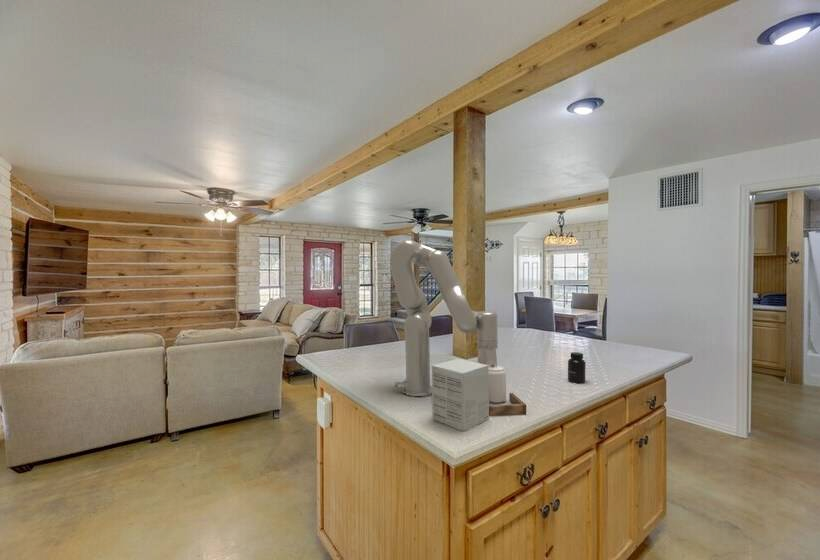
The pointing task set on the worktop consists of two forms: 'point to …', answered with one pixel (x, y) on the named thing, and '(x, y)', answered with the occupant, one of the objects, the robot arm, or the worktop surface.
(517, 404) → the bay
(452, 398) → the supplement box
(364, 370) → the worktop surface
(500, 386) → the white lidded jar
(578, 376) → the supplement bottle
